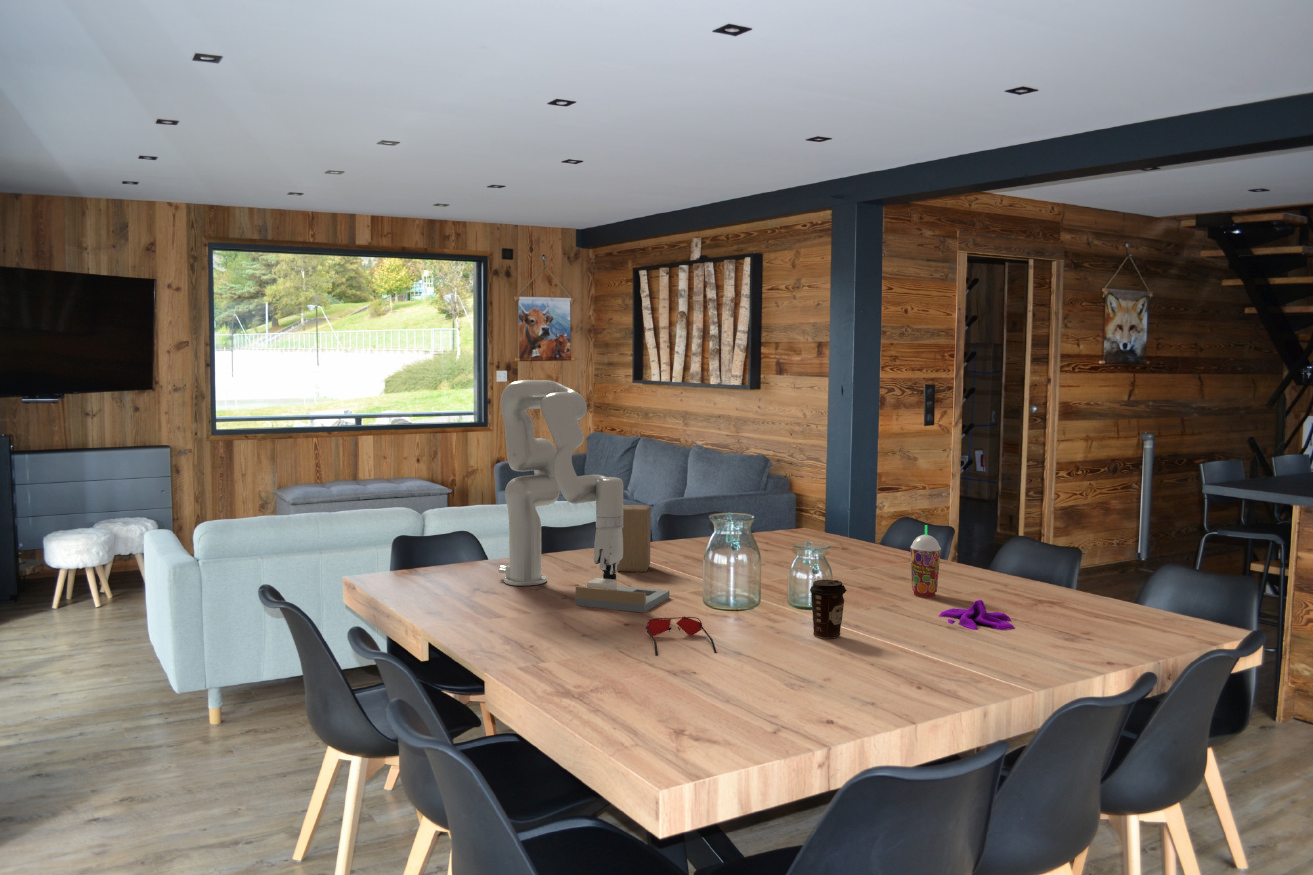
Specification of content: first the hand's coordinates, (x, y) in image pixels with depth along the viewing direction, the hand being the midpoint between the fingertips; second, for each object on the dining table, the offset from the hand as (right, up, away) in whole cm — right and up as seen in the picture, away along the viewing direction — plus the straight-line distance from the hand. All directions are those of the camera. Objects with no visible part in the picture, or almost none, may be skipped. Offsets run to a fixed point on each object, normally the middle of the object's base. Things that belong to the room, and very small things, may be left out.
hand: (609, 587), depth 272 cm
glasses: (+18, -7, -44) cm, 49 cm away
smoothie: (+89, -3, +6) cm, 89 cm away
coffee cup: (+54, -6, -37) cm, 65 cm away
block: (+6, 0, +40) cm, 41 cm away
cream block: (-2, -1, -5) cm, 5 cm away
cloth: (+94, -6, -23) cm, 97 cm away
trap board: (+4, -3, -3) cm, 6 cm away
